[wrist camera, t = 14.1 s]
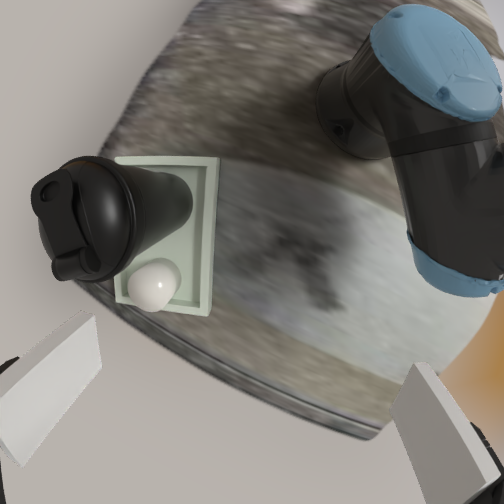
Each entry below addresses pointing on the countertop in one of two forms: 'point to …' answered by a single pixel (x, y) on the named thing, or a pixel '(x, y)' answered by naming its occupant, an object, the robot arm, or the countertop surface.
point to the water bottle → (105, 215)
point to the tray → (183, 234)
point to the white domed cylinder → (154, 284)
